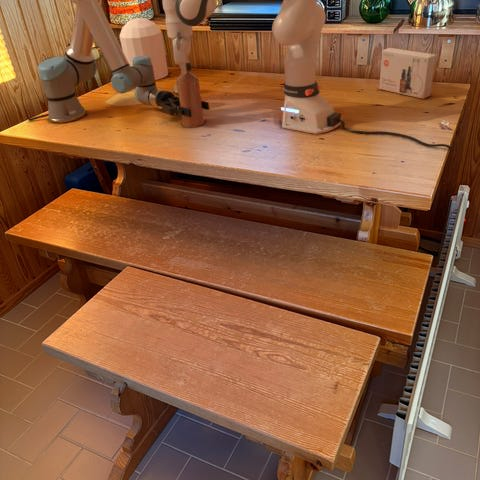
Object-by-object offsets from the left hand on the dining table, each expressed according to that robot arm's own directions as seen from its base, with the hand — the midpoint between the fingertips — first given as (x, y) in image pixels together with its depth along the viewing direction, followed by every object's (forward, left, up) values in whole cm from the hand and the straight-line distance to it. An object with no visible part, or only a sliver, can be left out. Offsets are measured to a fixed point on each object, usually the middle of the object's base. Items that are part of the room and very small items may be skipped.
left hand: (199, 109), depth 174 cm
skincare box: (+71, +45, -6) cm, 84 cm away
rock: (-25, +38, -6) cm, 46 cm away
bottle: (-4, +2, -6) cm, 8 cm away
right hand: (-4, +1, +14) cm, 14 cm away
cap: (-4, +2, +16) cm, 17 cm away
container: (-58, +63, -6) cm, 86 cm away
